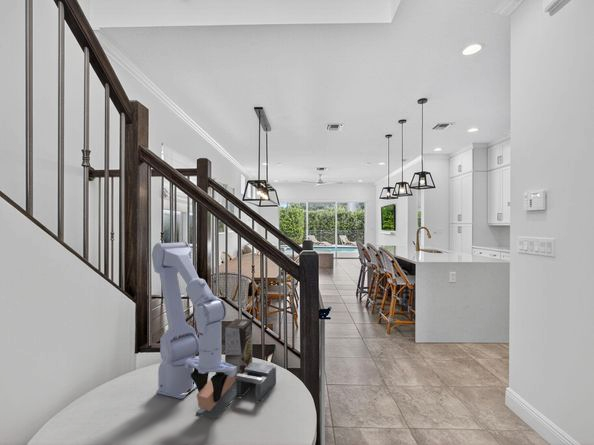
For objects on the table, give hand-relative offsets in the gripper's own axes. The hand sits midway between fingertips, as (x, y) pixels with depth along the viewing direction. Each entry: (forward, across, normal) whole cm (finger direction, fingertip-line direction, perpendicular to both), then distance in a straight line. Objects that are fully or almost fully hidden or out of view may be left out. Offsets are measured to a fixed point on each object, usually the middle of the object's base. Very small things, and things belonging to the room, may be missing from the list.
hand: (210, 398), depth 79 cm
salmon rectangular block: (0, 0, +3) cm, 3 cm away
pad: (+4, 0, +4) cm, 5 cm away
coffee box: (+4, -4, +22) cm, 22 cm away
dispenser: (+4, +7, +13) cm, 15 cm away
